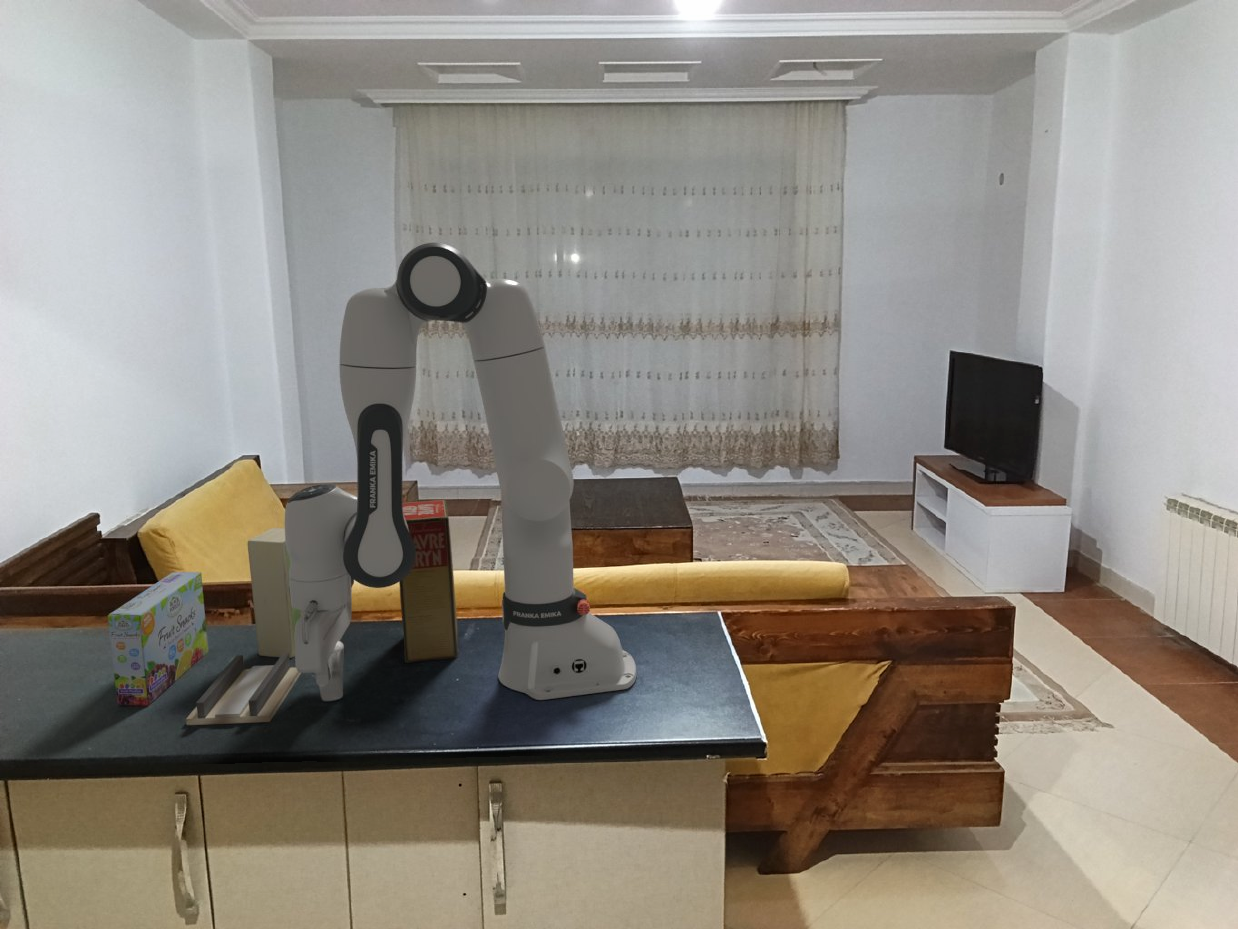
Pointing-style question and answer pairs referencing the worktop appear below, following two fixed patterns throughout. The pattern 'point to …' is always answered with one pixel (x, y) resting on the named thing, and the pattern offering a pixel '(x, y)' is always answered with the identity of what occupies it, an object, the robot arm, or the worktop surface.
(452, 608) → the food packaging
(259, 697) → the rail plate
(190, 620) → the snack box
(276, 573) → the toy refrigerator
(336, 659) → the milkshake
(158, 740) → the worktop surface
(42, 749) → the worktop surface
